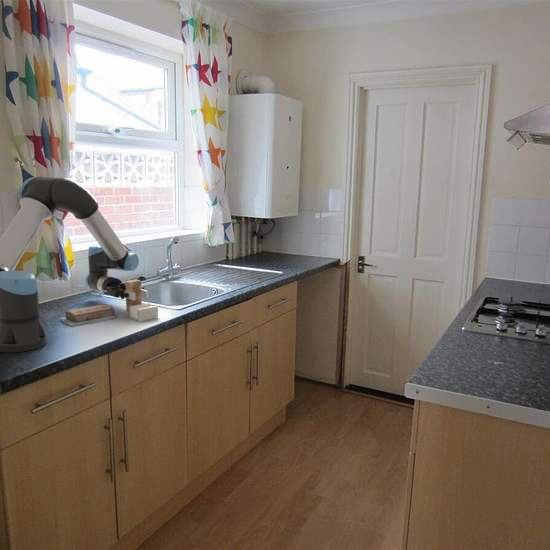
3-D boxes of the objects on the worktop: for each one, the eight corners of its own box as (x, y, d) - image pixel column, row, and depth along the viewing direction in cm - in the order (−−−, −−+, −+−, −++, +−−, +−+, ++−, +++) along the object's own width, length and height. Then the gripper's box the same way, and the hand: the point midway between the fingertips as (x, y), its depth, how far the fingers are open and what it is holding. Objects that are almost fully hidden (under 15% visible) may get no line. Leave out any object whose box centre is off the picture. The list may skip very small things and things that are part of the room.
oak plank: (130, 312, 202) (129, 282, 200) (126, 311, 204) (125, 281, 202) (141, 310, 206) (141, 280, 204) (137, 309, 208) (136, 279, 206)
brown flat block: (104, 301, 206) (117, 306, 199) (105, 313, 207) (117, 318, 200) (59, 309, 193) (70, 314, 187) (59, 321, 194) (71, 327, 187)
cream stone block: (139, 321, 195) (139, 309, 194) (129, 317, 200) (129, 306, 199) (158, 317, 201) (157, 306, 200) (147, 313, 206) (147, 302, 205)
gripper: (130, 291, 223) (161, 301, 207) (90, 298, 210) (120, 309, 194) (129, 274, 222) (160, 283, 206) (89, 279, 209) (119, 289, 193)
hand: (140, 295), depth 200 cm, fingers closed on oak plank, 5 cm apart
